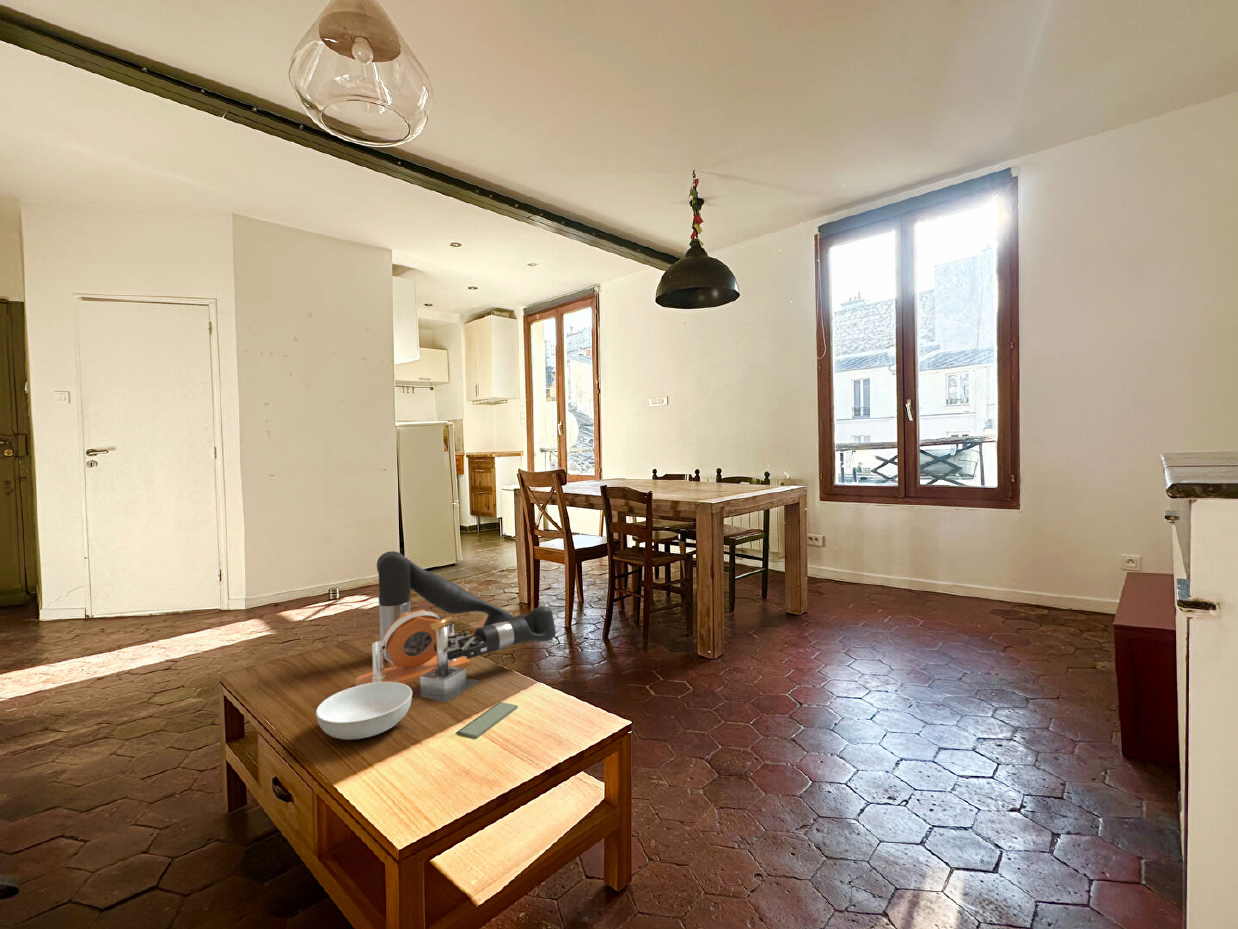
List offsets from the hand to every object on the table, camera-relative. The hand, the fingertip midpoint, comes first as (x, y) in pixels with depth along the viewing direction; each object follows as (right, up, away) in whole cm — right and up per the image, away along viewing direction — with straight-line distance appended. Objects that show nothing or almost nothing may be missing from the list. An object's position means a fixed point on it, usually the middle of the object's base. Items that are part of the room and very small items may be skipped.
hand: (440, 652), depth 153 cm
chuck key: (0, -10, +1) cm, 10 cm away
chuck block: (+1, -11, +1) cm, 11 cm away
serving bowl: (-12, -12, -19) cm, 25 cm away
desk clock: (-11, -11, +11) cm, 19 cm away
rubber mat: (+12, -11, -14) cm, 22 cm away
